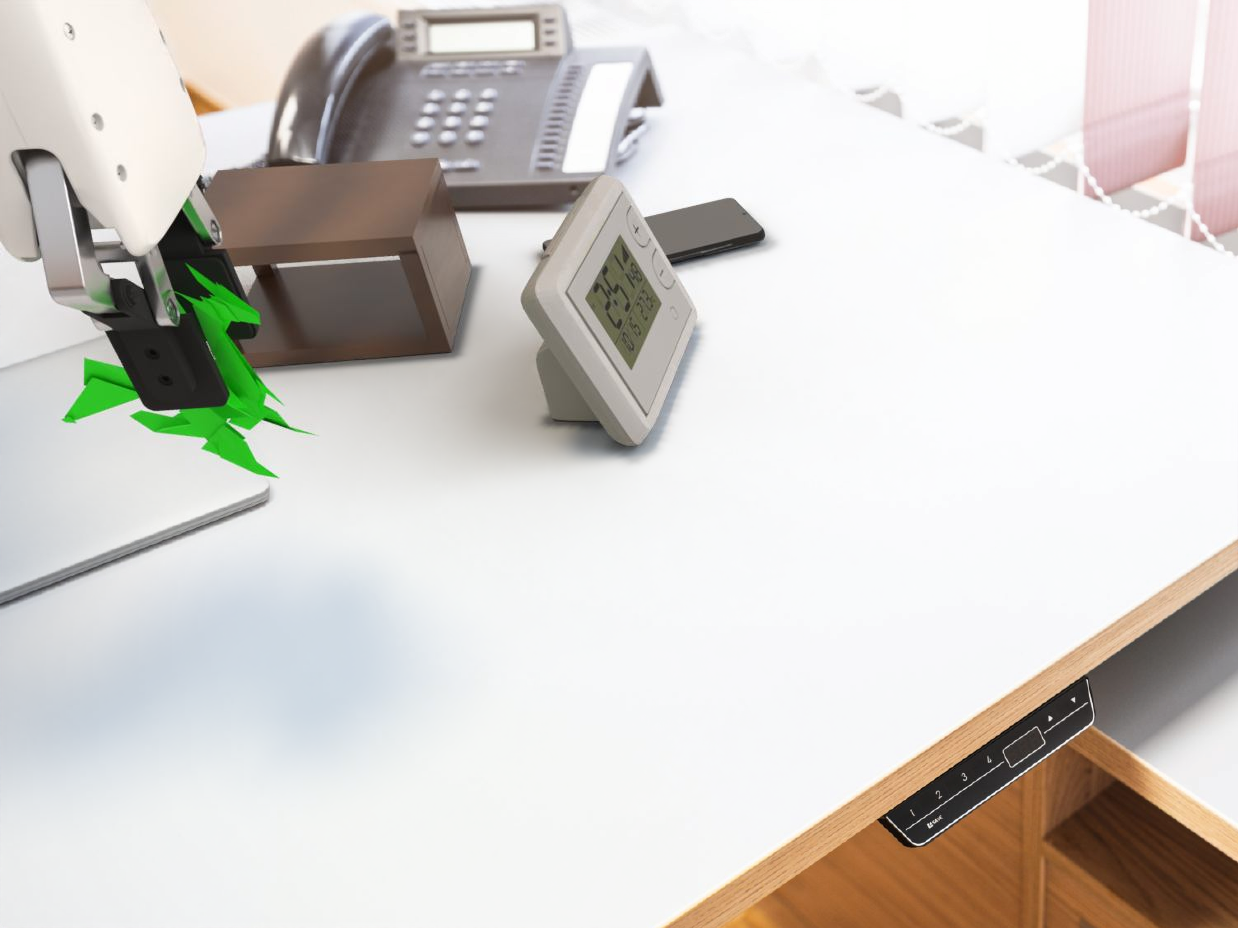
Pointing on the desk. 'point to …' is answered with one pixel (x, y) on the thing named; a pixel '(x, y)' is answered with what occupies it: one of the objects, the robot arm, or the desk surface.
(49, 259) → the robot arm
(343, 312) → the stand
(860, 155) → the desk surface
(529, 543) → the desk surface
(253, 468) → the figurine
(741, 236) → the smartphone
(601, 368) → the digital clock
